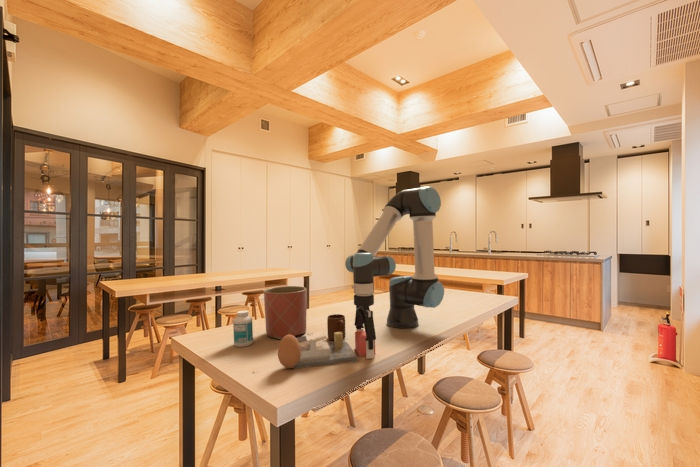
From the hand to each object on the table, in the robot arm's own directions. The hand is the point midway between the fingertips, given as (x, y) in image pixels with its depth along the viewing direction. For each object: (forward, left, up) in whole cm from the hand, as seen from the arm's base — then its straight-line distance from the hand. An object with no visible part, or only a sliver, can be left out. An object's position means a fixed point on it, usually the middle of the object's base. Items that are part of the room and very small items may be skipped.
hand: (364, 351), depth 119 cm
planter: (+27, -33, 0) cm, 43 cm away
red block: (0, 0, 0) cm, 0 cm away
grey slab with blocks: (+16, -1, 0) cm, 16 cm away
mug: (+7, -17, 0) cm, 18 cm away
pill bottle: (+45, -24, 0) cm, 51 cm away
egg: (+28, +6, 0) cm, 29 cm away
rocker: (+20, +1, +7) cm, 21 cm away
